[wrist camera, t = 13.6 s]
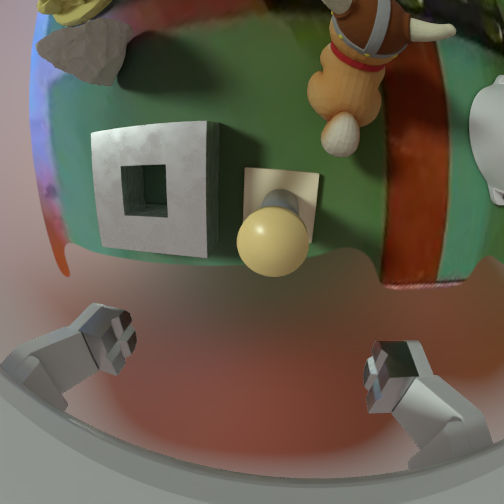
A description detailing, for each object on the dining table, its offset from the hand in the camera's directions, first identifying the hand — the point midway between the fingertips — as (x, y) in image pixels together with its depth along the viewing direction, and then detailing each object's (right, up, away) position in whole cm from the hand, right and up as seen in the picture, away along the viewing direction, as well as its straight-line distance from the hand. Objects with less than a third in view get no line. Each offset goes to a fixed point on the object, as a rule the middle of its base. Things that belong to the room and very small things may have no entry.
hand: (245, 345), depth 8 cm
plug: (+3, +8, +22) cm, 23 cm away
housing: (-10, +11, +23) cm, 28 cm away
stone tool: (-16, +27, +17) cm, 36 cm away
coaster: (+3, +8, +22) cm, 24 cm away
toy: (+10, +20, +16) cm, 28 cm away
